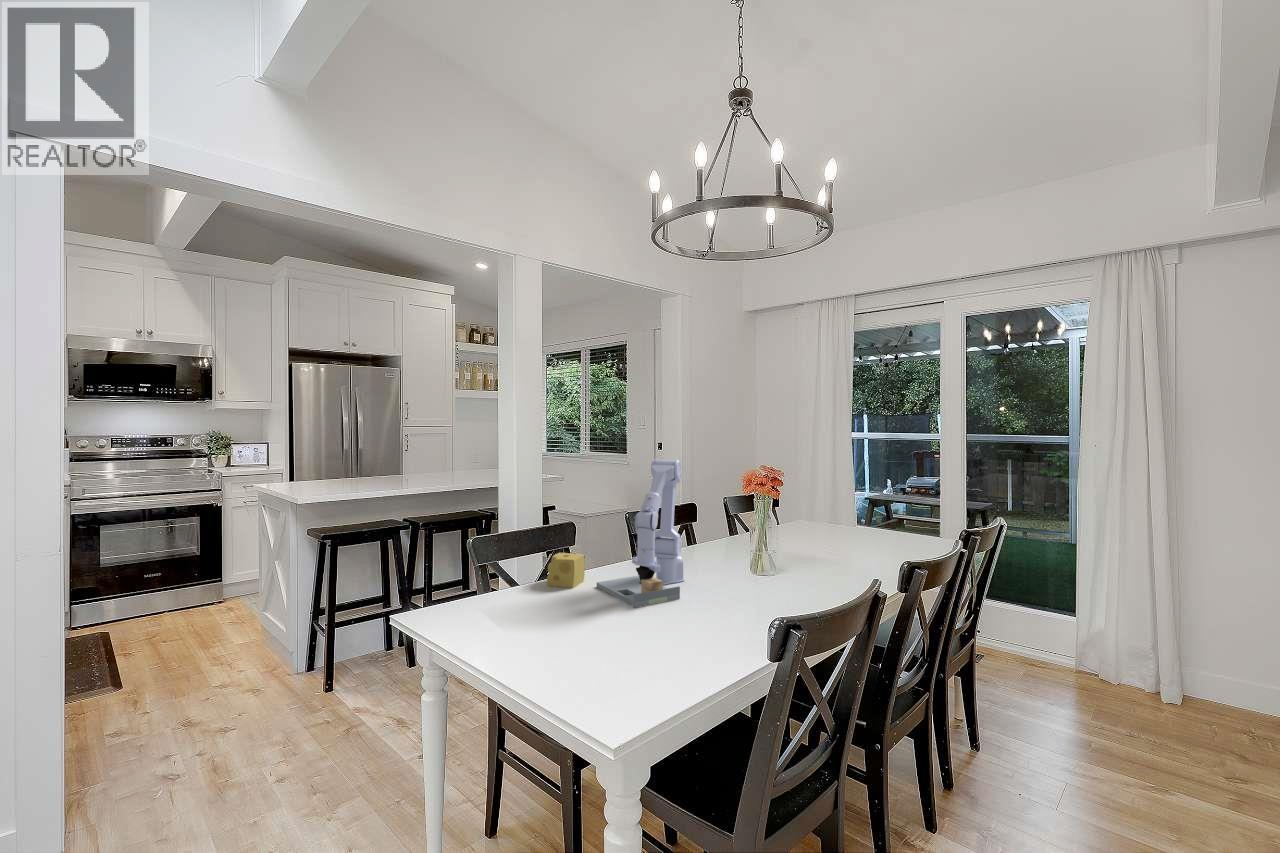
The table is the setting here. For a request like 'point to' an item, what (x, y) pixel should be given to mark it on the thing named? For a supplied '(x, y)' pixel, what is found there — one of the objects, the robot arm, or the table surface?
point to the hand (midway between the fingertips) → (645, 589)
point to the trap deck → (637, 591)
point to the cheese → (566, 570)
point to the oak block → (651, 585)
